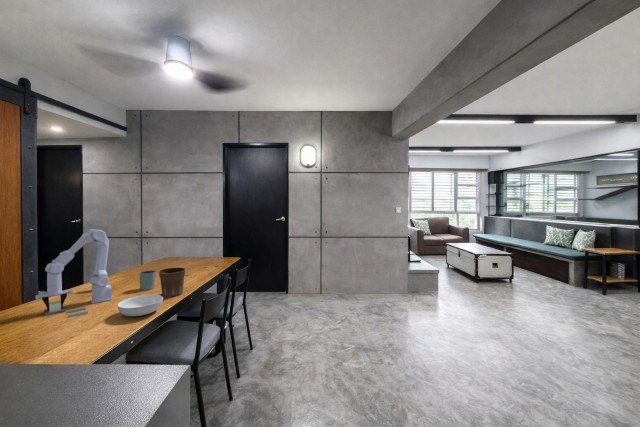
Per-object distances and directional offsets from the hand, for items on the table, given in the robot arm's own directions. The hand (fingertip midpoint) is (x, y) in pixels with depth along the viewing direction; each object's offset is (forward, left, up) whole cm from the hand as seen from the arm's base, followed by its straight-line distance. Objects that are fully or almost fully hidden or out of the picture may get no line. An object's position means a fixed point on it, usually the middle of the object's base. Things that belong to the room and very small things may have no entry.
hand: (54, 309), depth 151 cm
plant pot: (-56, +13, -2) cm, 57 cm away
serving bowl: (-32, +35, -2) cm, 47 cm away
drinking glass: (-48, -12, -2) cm, 50 cm away
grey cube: (0, 0, -1) cm, 1 cm away
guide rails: (-4, +5, -1) cm, 7 cm away
